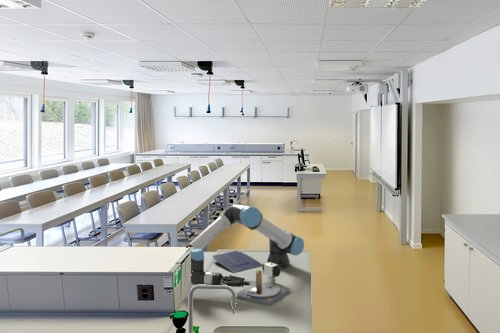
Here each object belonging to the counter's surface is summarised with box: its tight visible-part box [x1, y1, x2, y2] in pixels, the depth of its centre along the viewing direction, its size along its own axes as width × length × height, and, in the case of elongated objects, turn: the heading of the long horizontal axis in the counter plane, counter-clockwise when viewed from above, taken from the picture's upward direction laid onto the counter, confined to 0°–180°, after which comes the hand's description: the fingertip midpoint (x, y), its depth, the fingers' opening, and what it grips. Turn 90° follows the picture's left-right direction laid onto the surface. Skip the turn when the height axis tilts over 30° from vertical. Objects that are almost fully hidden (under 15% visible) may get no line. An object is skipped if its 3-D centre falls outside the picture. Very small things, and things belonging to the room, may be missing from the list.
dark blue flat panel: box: [212, 250, 263, 274], centre depth 294 cm, size 24×30×4 cm
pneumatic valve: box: [261, 261, 281, 284], centre depth 257 cm, size 6×12×12 cm, turn 37°
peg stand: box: [244, 270, 281, 298], centre depth 238 cm, size 19×19×14 cm
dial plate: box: [235, 286, 291, 306], centre depth 239 cm, size 22×22×2 cm
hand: (255, 283), depth 229 cm, fingers closed
